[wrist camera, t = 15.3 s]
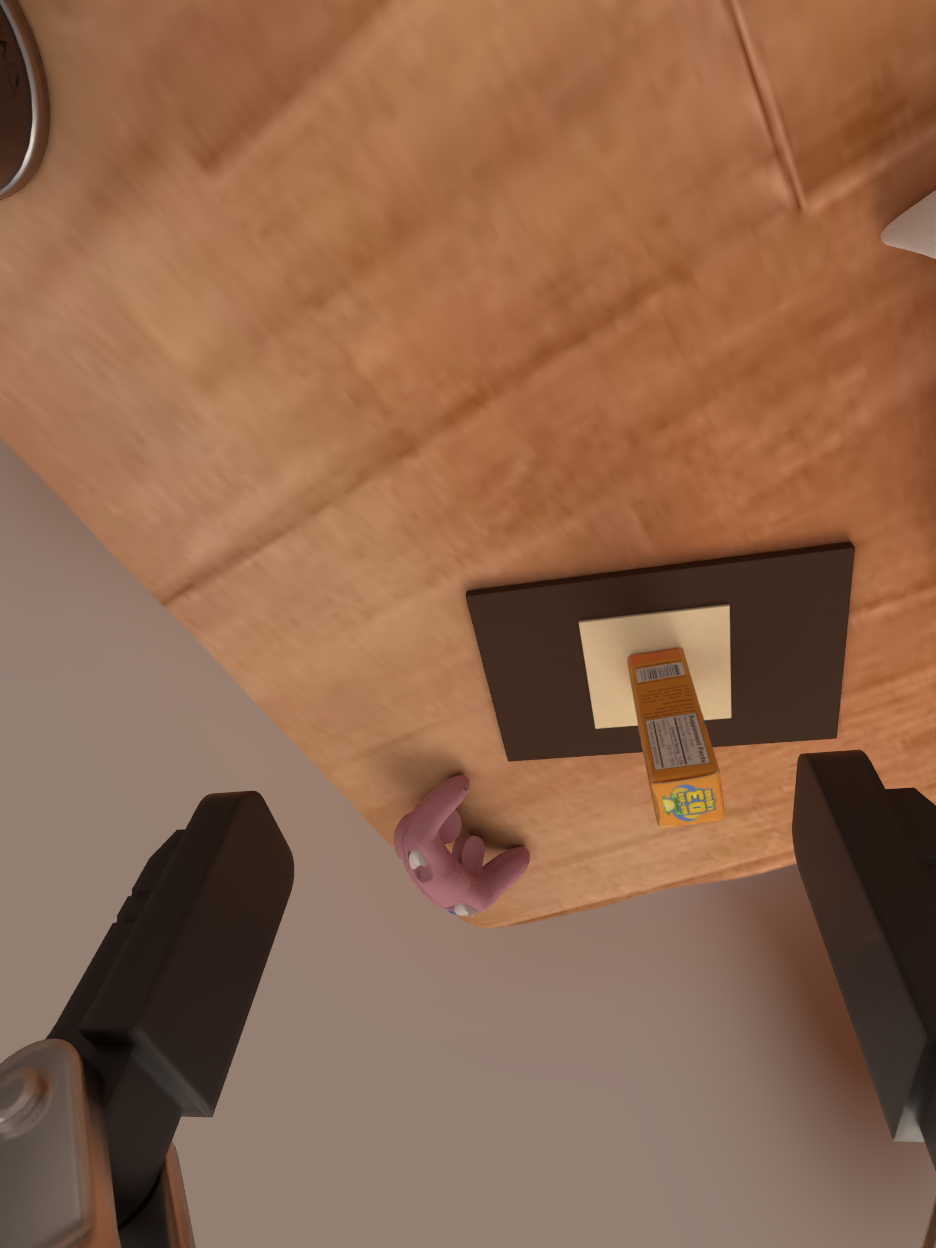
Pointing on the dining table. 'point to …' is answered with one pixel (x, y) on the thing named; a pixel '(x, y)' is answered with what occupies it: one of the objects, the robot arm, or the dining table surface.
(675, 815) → the supplement box
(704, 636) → the desk pad
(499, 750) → the dining table surface
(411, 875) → the video game controller
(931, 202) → the spoon rest
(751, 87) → the dining table surface
